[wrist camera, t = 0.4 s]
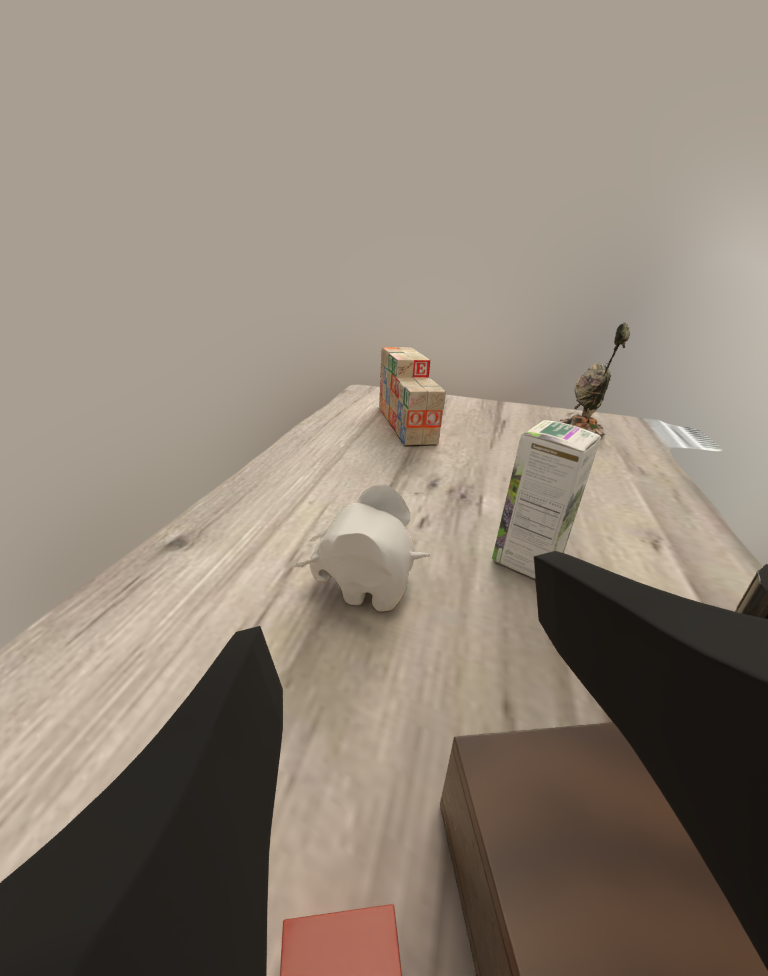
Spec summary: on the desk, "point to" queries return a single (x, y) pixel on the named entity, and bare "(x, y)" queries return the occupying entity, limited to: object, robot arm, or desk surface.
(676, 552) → the desk surface
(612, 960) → the brown open wooden box
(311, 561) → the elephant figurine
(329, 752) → the desk surface
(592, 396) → the brown bird figurine
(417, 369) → the stack of blocks
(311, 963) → the block
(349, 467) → the desk surface
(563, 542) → the syrup box
